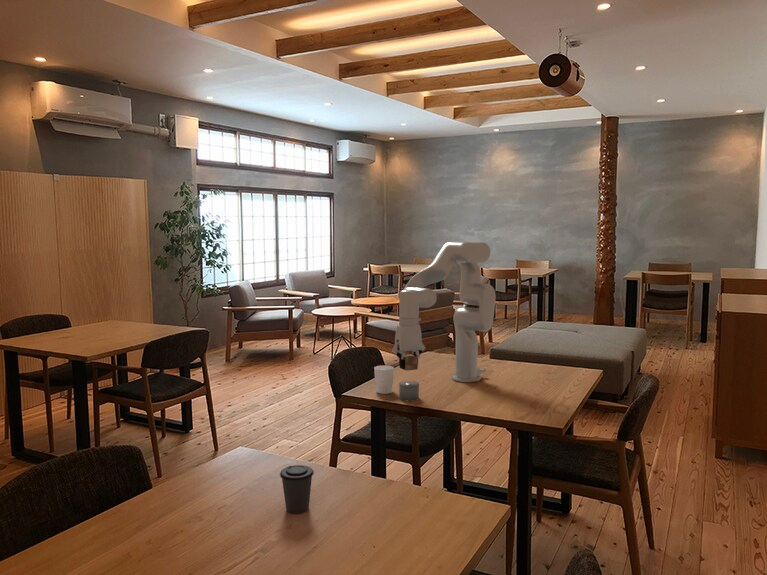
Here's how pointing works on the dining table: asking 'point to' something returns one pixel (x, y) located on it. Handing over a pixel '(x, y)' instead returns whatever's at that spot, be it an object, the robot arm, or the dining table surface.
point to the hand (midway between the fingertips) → (408, 367)
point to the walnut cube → (411, 362)
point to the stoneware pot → (409, 390)
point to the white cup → (384, 379)
